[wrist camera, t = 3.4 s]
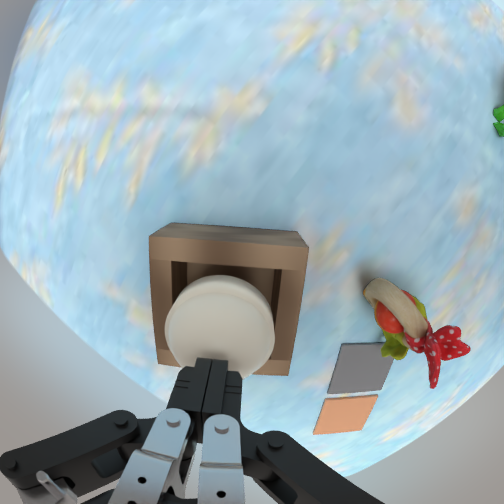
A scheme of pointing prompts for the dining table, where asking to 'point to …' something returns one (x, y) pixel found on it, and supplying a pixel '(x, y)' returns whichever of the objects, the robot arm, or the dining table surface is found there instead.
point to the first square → (360, 368)
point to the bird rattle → (411, 327)
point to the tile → (344, 414)
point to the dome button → (221, 324)
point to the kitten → (499, 114)
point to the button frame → (231, 264)
